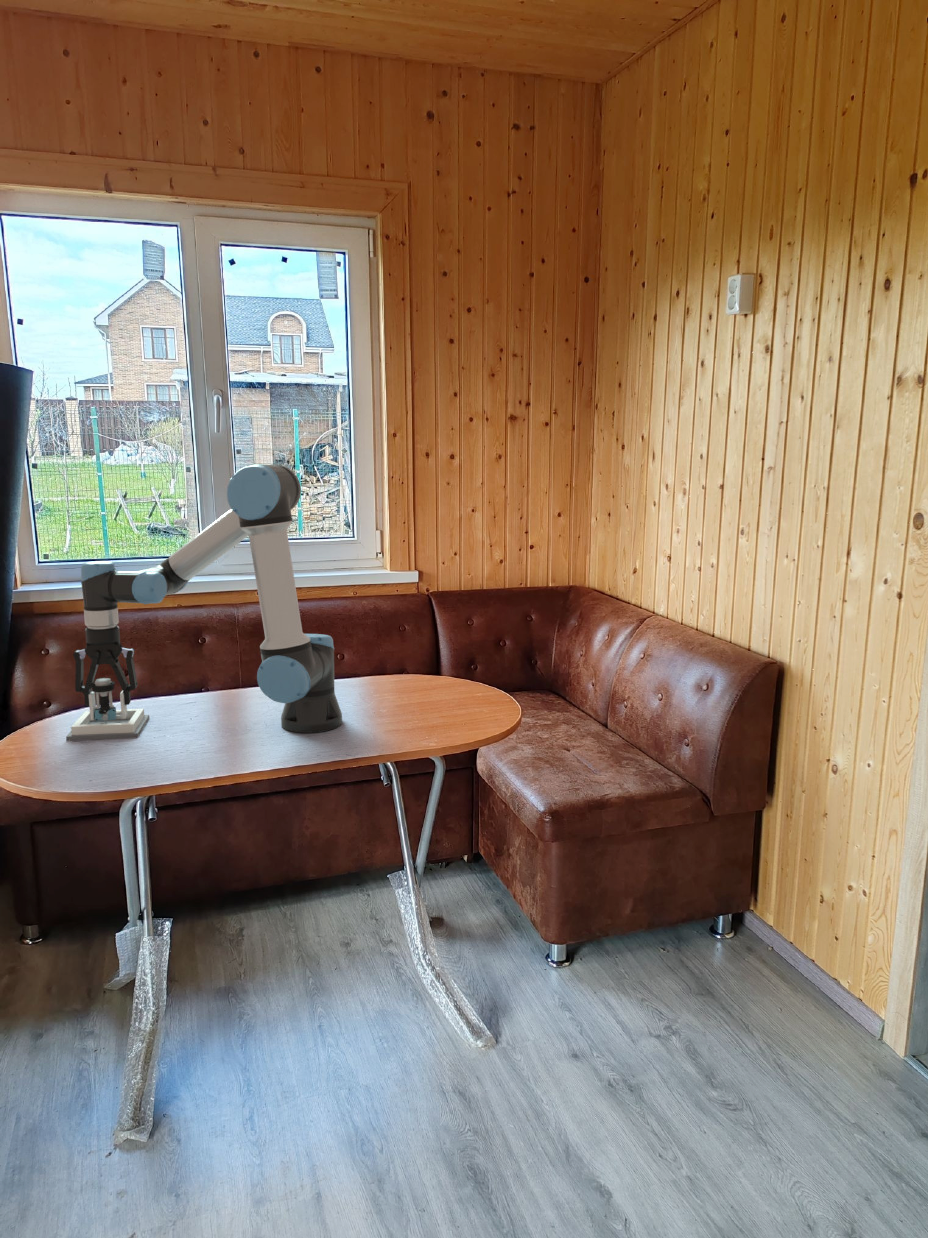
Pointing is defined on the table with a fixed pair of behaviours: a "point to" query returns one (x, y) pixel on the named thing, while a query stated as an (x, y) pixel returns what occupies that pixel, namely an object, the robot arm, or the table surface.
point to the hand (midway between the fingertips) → (109, 717)
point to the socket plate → (109, 726)
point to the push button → (104, 699)
